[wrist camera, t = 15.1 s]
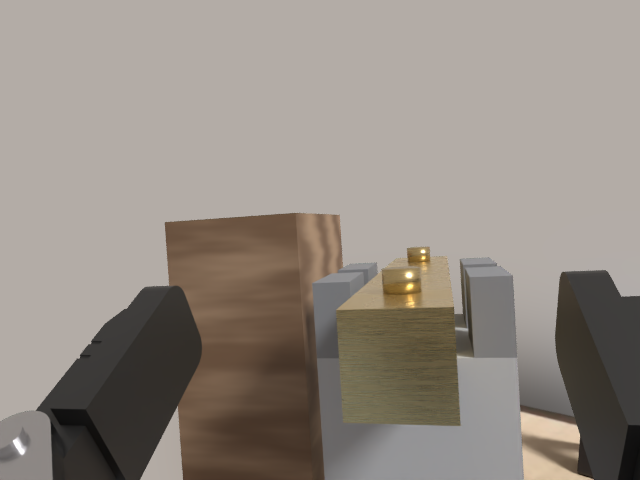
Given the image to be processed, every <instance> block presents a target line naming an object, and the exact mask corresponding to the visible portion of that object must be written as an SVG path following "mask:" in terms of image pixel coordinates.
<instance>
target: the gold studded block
mask: <svg viewBox="0 0 640 480" xmlns="http://www.w3.org/2000/svg"><path fill="white" fill-rule="evenodd" d="M407 255H408V258H398V259H395V260H394V261H393V262H391V263H390V264H389V265H388V266H387V267H386V268H384V269H382V271H381V272H380V273H379V274H377V275H376V276H375V277H374V278H373V279H372V280H370V281H369V282H368V283H367V284H366V285H365V286H363V287H362V288H361V289H360V290H359V291H358V292H356V293H355V294H354V295H353V296H352V297H351V298H349V299H348V300H347V301H346V302H345V303H344V304H342V305H341V306H340V307H339V308H338V309H337V310H336V318H337V333H338V349H339V365H340V381H341V397H342V412H343V423H366V424H401V425H436V426H461V422H460V405H459V387H458V370H457V352H456V335H455V317H454V304H453V297H452V289H451V282H450V274H449V268H448V260H447V256H441V257H440V256H439V257H430V248H429V247H411V248H407Z"/></svg>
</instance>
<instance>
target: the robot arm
mask: <svg viewBox="0 0 640 480" xmlns="http://www.w3.org/2000/svg"><path fill="white" fill-rule="evenodd" d="M555 341H556V353H557V359H558V363H559V368H560V371H561V374H562V377H563V380H564V384H565V387H566V390H567V393H568V397H569V400H570V403H571V407H572V410H573V413H574V416H575V420H576V423H577V426H578V429H579V433H580V436H581V439H582V442H583V446H584V449H585V452H586V455H587V459H588V462H589V465H590V468H591V472H592V475H593V478H594V480H640V296H630V297H621V295H620V293H619V292H618V290H617V288H616V286H615V284H614V282H613V280H612V278H611V277H610V275H609V273H608V272H607V271H606V270H601V271H572V272H562V273H561V277H560V282H559V294H558V307H557V319H556V332H555ZM91 342H92V343H91V344H89V345H88V346H87V347H86V348H85V350H84V351H83V352H82V353H81V355H80V359H77V360H76V361H75V362H74V363H73V365H72V366H71V367H70V368H69V370H68V371H67V372H66V373H65V375H64V376H63V377H62V378H61V380H60V381H59V382H58V383H57V385H56V386H55V387H54V389H53V390H52V391H51V392H50V393H49V395H48V396H47V397H46V398H45V400H44V401H43V402H42V403H41V405H40V406H39V407H38V408H37V410H36V411H25V412H21V413H18V414H15V415H12V416H10V417H8V418H6V419H4V420H2V421H0V480H140V478H141V476H142V474H143V472H144V470H145V469H146V467H147V465H148V463H149V461H150V459H151V457H152V455H153V453H154V451H155V449H156V447H157V445H158V443H159V441H160V439H161V437H162V435H163V433H164V431H165V429H166V427H167V426H168V424H169V421H170V420H171V418H172V416H173V414H174V412H175V410H176V408H177V406H178V404H179V402H180V400H181V398H182V396H183V394H184V392H185V390H186V388H187V386H188V385H189V383H190V381H191V379H192V377H193V375H194V373H195V371H196V369H197V367H198V365H199V363H200V359H201V354H202V341H201V337H200V334H199V331H198V328H197V325H196V323H195V320H194V317H193V315H192V312H191V309H190V307H189V304H188V301H187V298H186V296H185V293H184V291H183V290H182V288H181V287H179V286H156V287H155V286H153V287H145V288H144V289H142V290H141V291H140V293H139V294H138V295H137V297H136V298H135V299H134V300H133V302H132V303H131V304H130V305H129V307H128V308H127V309H124V310H123V311H121V312H120V313H119V314H118V315H116V316H115V317H113V318H112V319H111V320H110V321H108V322H107V323H106V324H105V325H104V326H103V327H102V328H101V329H100V331H99V332H98V333H97V334H96V336H95V337H94V339H92V341H91Z"/></svg>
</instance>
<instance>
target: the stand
mask: <svg viewBox="0 0 640 480" xmlns="http://www.w3.org/2000/svg"><path fill="white" fill-rule="evenodd" d="M165 231H166V246H167V259H168V274H169V286H179V287H181V288H182V290H183V291H184V293H185V296H186V298H187V301H188V304H189V307H190V309H191V312H192V315H193V317H194V320H195V323H196V325H197V328H198V331H199V334H200V337H201V341H202V354H201V359H200V363H199V365H198V367H197V369H196V371H195V373H194V375H193V377H192V379H191V381H190V383H189V385H188V386H187V388H186V390H185V392H184V394H183V396H182V398H181V400H180V402H179V404H178V412H179V428H180V442H181V456H182V470H183V480H325V476H324V460H323V445H322V429H321V414H320V398H319V383H318V367H317V351H316V336H315V320H314V305H313V289H312V283H314V282H316V281H318V280H320V279H321V278H323V277H325V276H327V275H329V274H331V273H338V270H339V269H341V268H343V262H342V246H341V230H340V216H339V215H329V214H305V213H290V214H275V215H261V216H248V217H234V218H219V219H205V220H191V221H177V222H165Z"/></svg>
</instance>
